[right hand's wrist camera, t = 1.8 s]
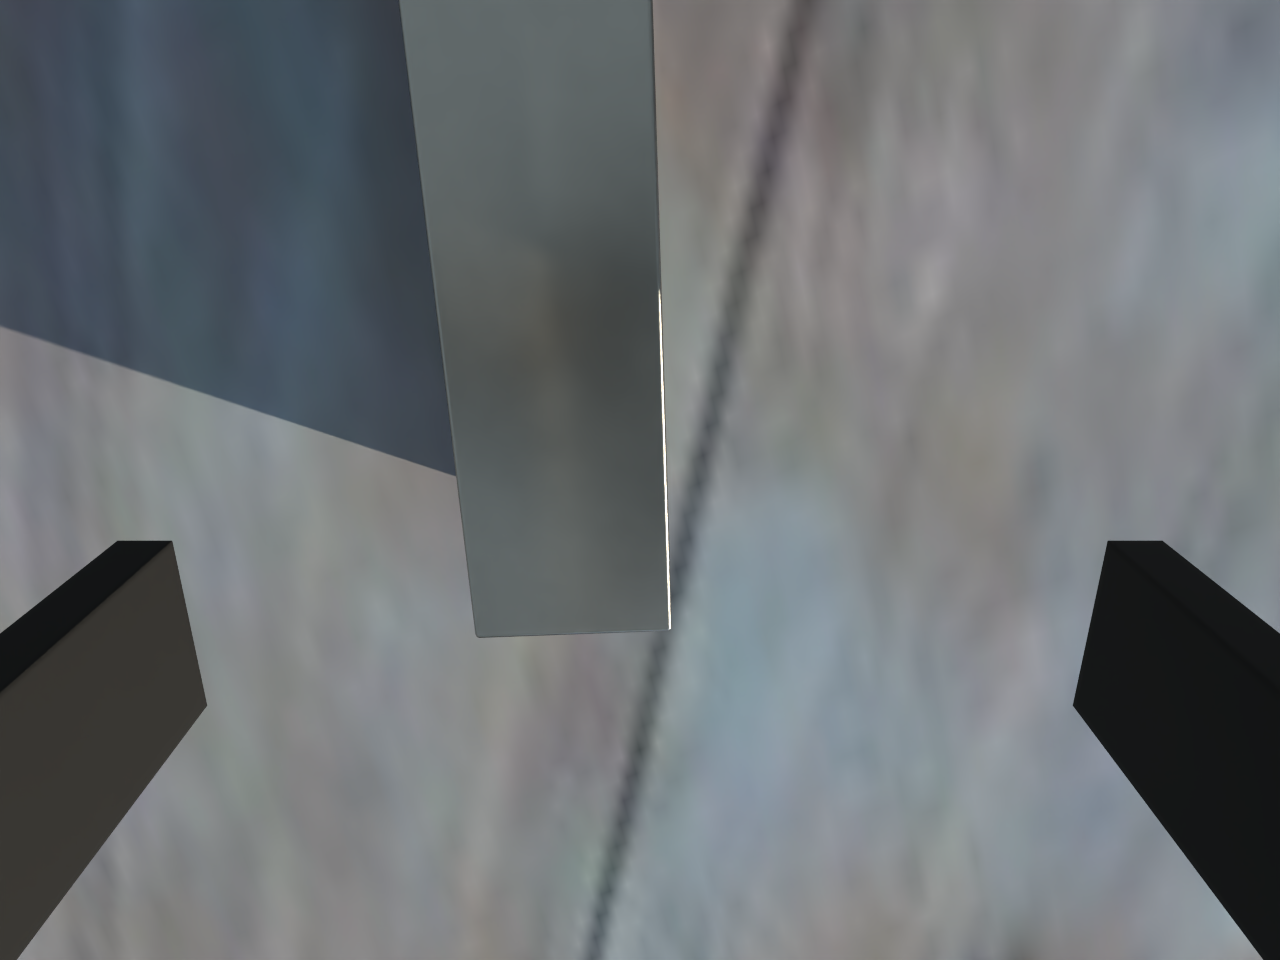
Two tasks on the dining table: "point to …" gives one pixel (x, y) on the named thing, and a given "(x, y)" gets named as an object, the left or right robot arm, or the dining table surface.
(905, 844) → the dining table surface
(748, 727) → the dining table surface
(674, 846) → the dining table surface
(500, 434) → the bar
